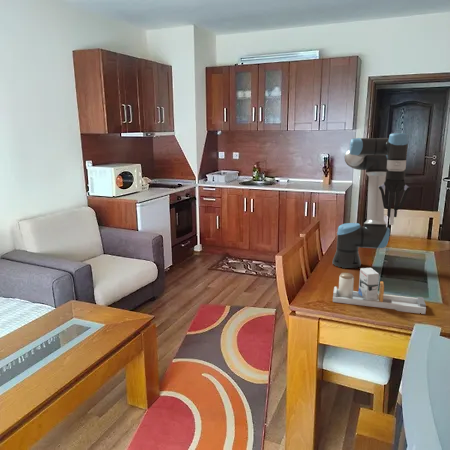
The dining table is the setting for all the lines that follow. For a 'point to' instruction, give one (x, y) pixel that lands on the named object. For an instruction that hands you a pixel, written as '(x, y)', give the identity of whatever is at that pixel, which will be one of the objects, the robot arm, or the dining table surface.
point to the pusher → (381, 293)
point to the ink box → (368, 284)
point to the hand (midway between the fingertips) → (391, 224)
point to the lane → (397, 302)
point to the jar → (346, 285)
